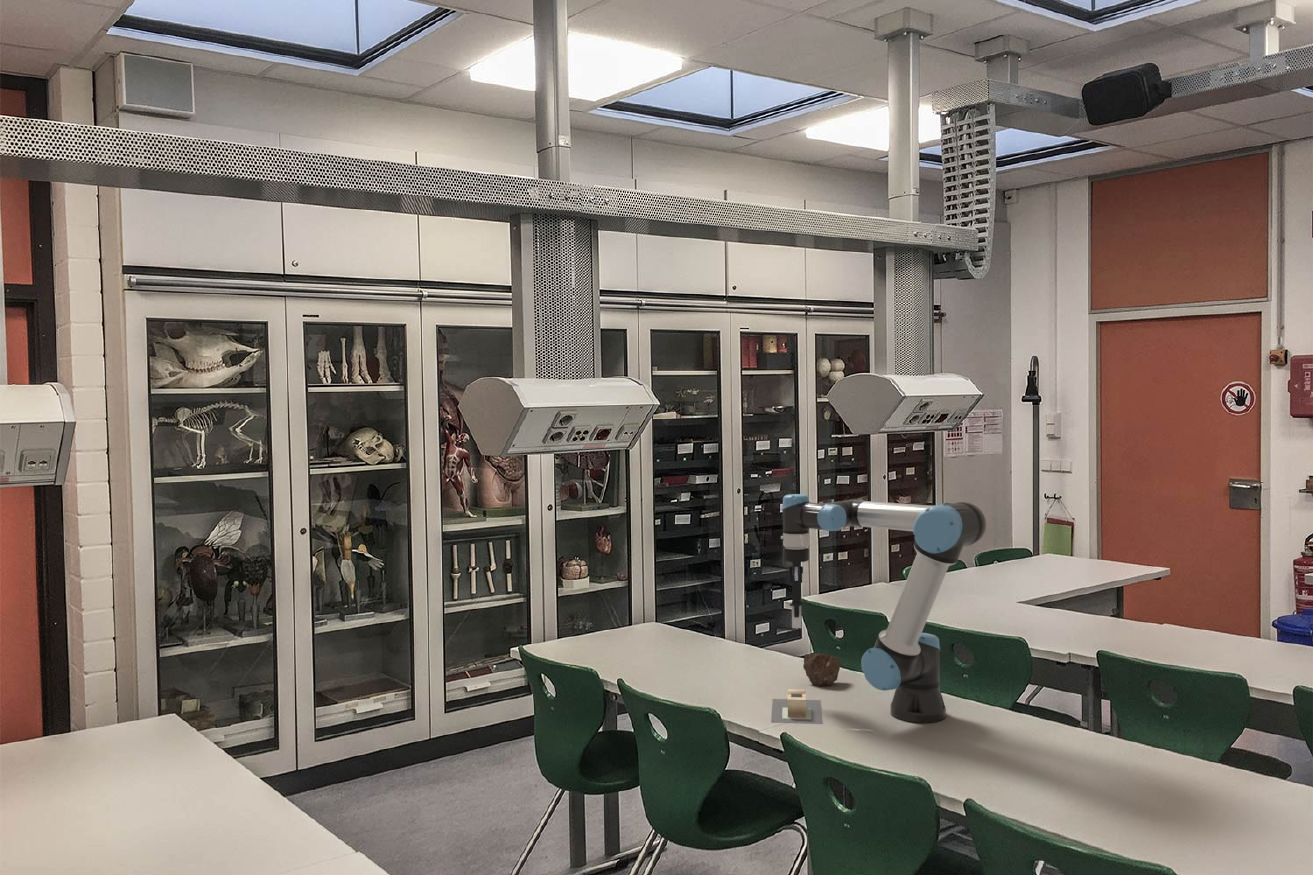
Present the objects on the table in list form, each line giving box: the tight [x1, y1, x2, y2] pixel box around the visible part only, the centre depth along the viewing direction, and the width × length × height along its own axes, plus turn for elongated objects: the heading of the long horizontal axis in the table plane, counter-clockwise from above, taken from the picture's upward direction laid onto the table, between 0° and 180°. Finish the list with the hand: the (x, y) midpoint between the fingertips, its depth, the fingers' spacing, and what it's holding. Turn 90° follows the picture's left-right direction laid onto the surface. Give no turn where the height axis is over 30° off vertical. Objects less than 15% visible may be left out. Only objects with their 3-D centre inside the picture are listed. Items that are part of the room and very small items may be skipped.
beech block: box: [787, 688, 807, 718], centre depth 292 cm, size 5×5×10 cm
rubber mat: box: [770, 698, 824, 725], centre depth 294 cm, size 22×14×1 cm, turn 173°
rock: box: [802, 653, 842, 687], centre depth 320 cm, size 12×10×10 cm
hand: (796, 627), depth 304 cm, fingers closed
